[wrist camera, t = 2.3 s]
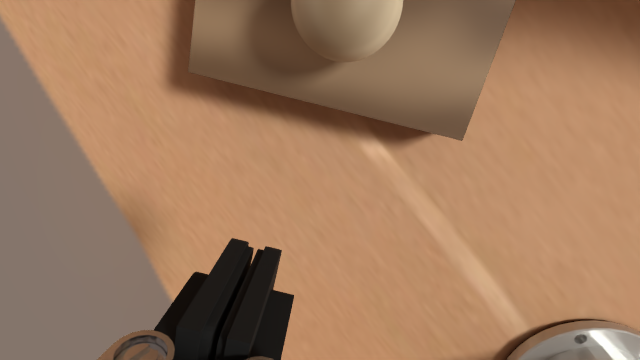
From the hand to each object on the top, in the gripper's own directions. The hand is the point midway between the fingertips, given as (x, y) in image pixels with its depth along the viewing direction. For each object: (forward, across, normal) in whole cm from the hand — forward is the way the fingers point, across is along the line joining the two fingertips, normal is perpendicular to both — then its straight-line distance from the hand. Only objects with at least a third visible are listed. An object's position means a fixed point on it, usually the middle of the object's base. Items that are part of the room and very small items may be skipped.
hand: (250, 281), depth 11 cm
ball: (+8, -1, -10) cm, 13 cm away
